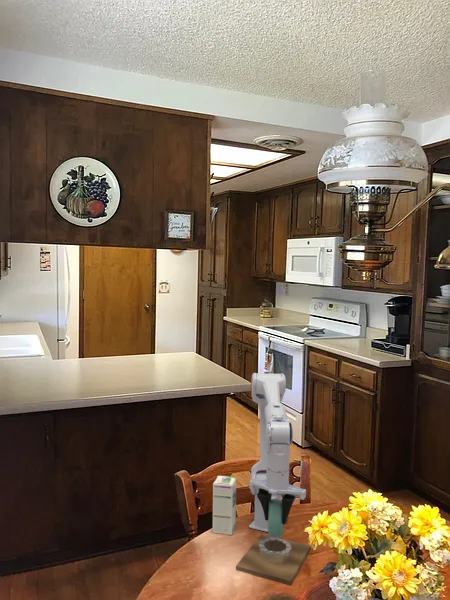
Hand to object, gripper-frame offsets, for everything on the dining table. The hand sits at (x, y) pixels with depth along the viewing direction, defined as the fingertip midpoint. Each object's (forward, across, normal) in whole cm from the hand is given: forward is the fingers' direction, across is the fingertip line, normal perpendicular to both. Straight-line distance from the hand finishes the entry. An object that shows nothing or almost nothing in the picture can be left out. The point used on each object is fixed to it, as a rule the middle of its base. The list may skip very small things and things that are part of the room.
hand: (276, 520), depth 131 cm
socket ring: (+10, 0, 0) cm, 10 cm away
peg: (+3, 0, 0) cm, 3 cm away
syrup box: (+10, -18, +8) cm, 22 cm away
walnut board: (+10, 0, 0) cm, 10 cm away
